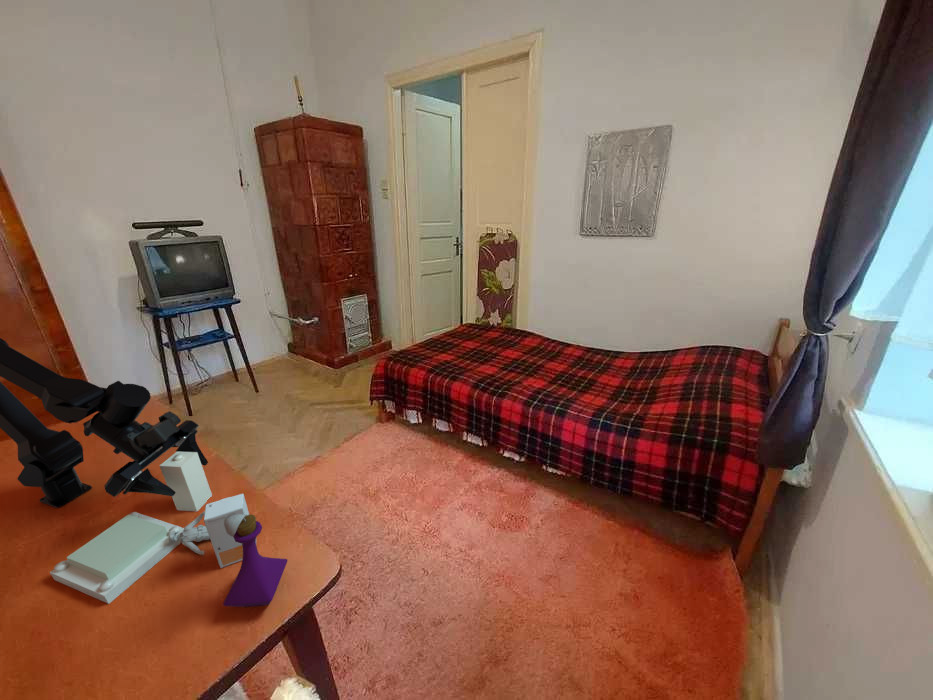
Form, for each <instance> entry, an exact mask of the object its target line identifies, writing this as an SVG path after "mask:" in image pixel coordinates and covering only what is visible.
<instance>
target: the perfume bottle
mask: <svg viewBox="0 0 933 700" xmlns="http://www.w3.org/2000/svg"><path fill="white" fill-rule="evenodd" d="M224 526H225V529H226V532H227V534H229V535H230V536H232V537H234V540H235V542H238V543H242V546H243V559H242V560H241V565H240V568H239V571H238V572H237V575H236V577H235V579H234V581H233V583H232V585H231V587H230V589H229V591H228V593H227V595H226V596H225V597H226V598H225V599H224V600H223V603H222V606H224V607H233V608H234V607H235V608H237V607H238V608H249V607H250V608H251V607H261V606H262V607H263V606H269V605H270V604H271V603H272V601H273V599H274V597H275V595H276V591H277V589H278V587H279V584H280V582H281V579H282V576H283V574H284V572H285V569H286V566H287V563H288V559H287V558H279V557H267V556H263V555H261V554H260V553H259V550H258V546H257V537H258V536H259V534H261V532H262V529H263V525H262V524H261V522H260V521H257V518H256V515H255V514H250V513H249V515H246V514H236V515H230V516H228V517H226V518H225V519H224Z"/></svg>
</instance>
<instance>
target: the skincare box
mask: <svg viewBox="0 0 933 700" xmlns="http://www.w3.org/2000/svg"><path fill="white" fill-rule="evenodd" d="M248 509H249V508H248V505H247V501H246V499H245V495H244V493H239V494H236V495H233V496H228V497H224V498H222V499H219V500H217V501H213V502H209V503H205V508H204V511H205V515H204V516H203V517H204V518H203V522H204V526H206V528H207V531H208V534H209V537H210V539H209V540H210V542H211V544H212V548H213V550H214V554H215V557H216V559H217V562H218V565H219V567H220V568H221V569H222V568H225V567H227V566H230V565H232V564H235V563H238V562H242V559H243V546H242V543H238V542H235V540H234V537H232V536H230V535H229V534H227V532H226V529H225V526H224V519H225V518H226V517H228V516H230V515H236V514H246V515H250V512H249V510H248Z"/></svg>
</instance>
